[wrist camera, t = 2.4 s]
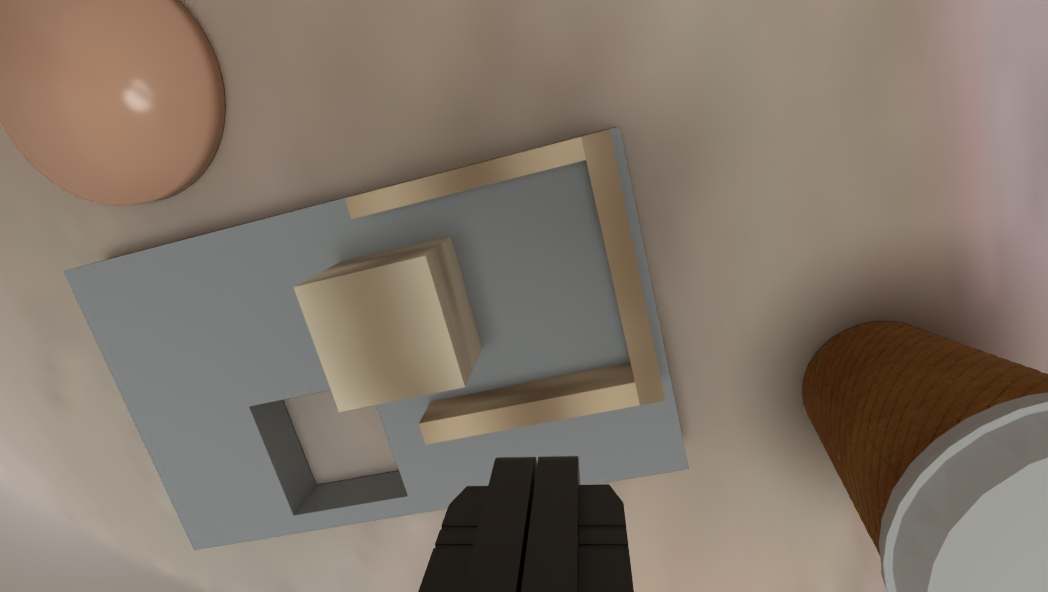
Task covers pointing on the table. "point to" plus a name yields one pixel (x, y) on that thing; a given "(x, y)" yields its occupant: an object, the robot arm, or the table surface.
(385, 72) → the table surface
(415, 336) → the block
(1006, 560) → the disposable coffee cup
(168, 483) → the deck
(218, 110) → the saucer
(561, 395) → the frame
